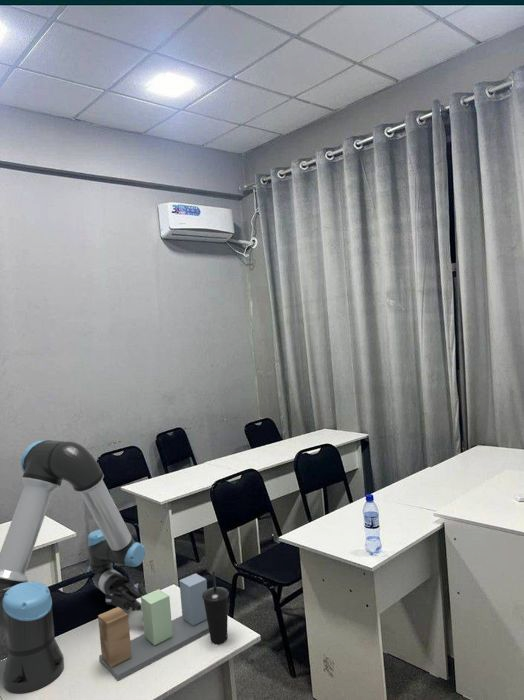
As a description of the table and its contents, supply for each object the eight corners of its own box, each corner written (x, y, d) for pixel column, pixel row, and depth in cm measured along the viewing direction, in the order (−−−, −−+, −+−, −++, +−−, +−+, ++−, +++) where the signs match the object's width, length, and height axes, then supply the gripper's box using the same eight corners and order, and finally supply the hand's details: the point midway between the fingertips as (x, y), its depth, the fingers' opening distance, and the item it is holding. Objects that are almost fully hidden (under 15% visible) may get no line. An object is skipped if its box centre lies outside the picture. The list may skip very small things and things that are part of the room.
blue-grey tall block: (182, 618, 160) (179, 580, 159) (198, 610, 164) (195, 573, 163) (193, 625, 155) (189, 586, 155) (209, 617, 159) (206, 579, 159)
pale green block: (144, 636, 151) (140, 596, 151) (162, 628, 155) (159, 589, 155) (154, 645, 147) (150, 604, 146) (172, 636, 151) (169, 595, 150)
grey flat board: (99, 660, 145) (99, 655, 145) (195, 613, 165) (195, 609, 165) (118, 680, 135) (117, 675, 135) (217, 628, 156) (217, 623, 156)
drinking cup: (220, 650, 145) (214, 580, 144) (200, 642, 150) (194, 574, 149) (237, 636, 151) (232, 569, 150) (218, 628, 156) (212, 563, 155)
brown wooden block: (101, 657, 143) (97, 615, 143) (122, 647, 147) (118, 606, 146) (111, 667, 138) (107, 623, 138) (131, 656, 142) (127, 614, 142)
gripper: (133, 588, 178) (168, 613, 160) (96, 603, 169) (129, 632, 151) (131, 567, 177) (166, 589, 159) (94, 581, 169) (127, 607, 151)
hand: (148, 610), depth 155 cm, fingers closed
